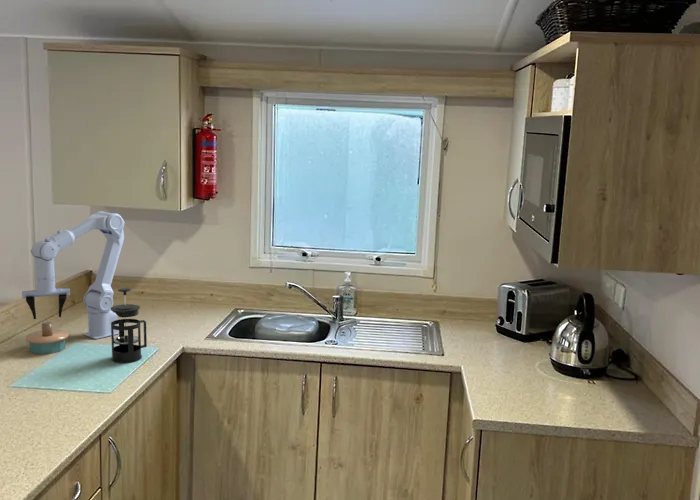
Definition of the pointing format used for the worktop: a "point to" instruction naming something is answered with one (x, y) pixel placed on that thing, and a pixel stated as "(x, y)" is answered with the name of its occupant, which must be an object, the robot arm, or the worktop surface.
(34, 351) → the bowl
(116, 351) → the french press
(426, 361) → the worktop surface
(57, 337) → the lid
